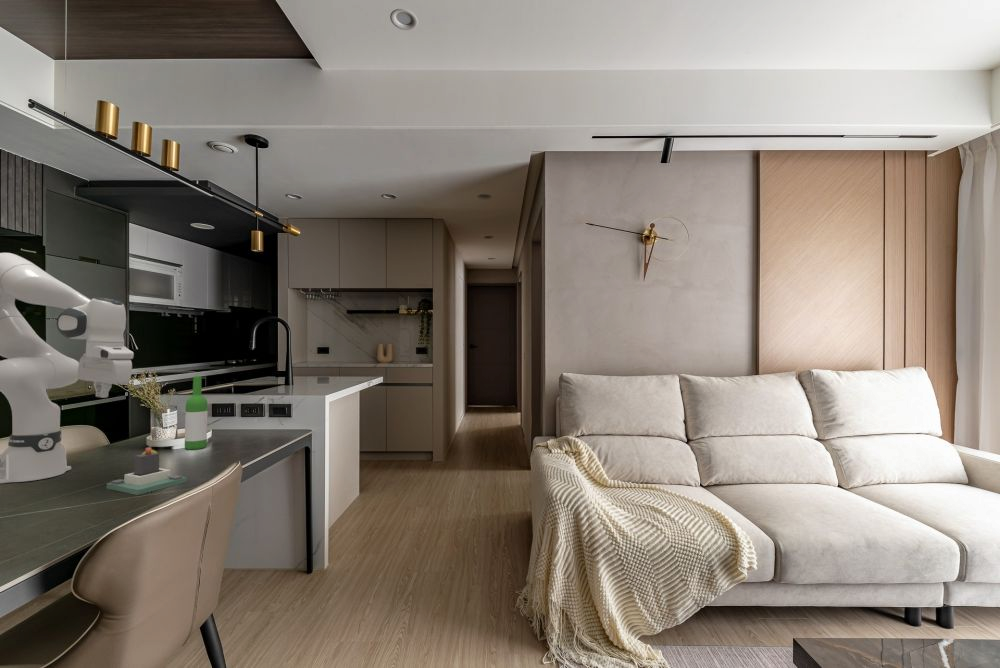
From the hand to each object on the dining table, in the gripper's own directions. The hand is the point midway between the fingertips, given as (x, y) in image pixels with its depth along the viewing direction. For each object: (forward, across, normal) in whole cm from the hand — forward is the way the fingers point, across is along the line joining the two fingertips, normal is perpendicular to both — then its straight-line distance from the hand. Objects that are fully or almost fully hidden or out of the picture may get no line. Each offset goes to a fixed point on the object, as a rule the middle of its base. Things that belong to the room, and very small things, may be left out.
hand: (101, 397), depth 141 cm
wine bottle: (+28, -25, +49) cm, 61 cm away
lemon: (+28, -4, +17) cm, 33 cm away
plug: (+25, +11, +8) cm, 29 cm away
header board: (+27, +11, +8) cm, 30 cm away
